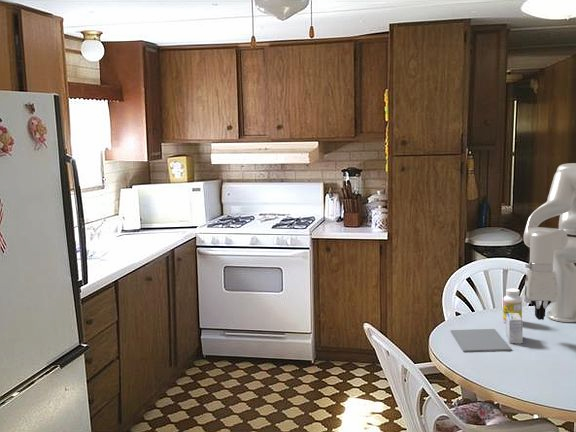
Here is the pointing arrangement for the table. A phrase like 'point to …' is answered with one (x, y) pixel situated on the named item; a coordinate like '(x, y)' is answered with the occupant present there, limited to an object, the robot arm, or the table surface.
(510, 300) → the supplement bottle
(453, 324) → the table surface
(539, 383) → the table surface
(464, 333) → the mat
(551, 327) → the table surface
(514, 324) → the medicine box
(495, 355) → the table surface
